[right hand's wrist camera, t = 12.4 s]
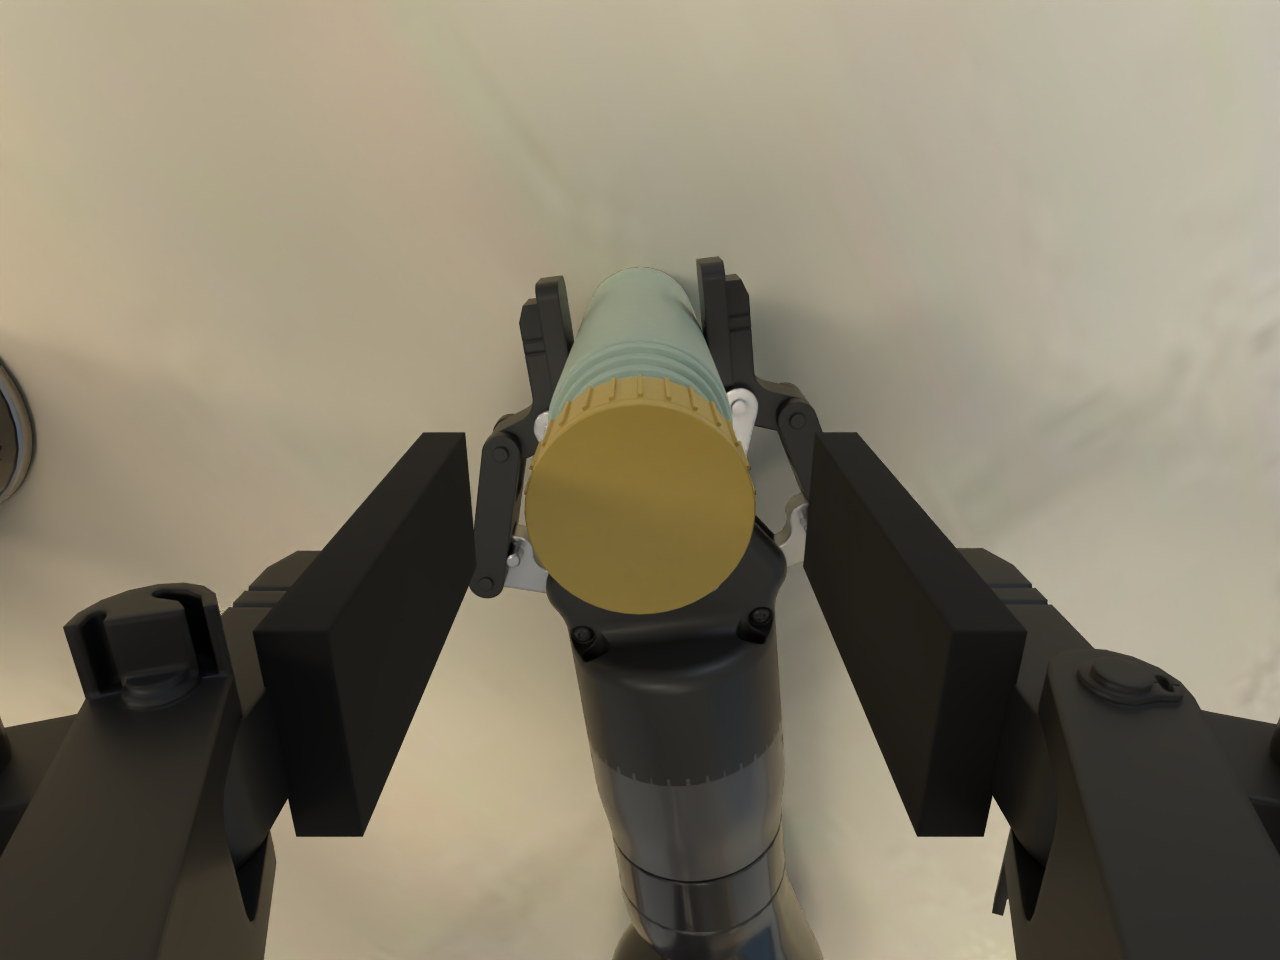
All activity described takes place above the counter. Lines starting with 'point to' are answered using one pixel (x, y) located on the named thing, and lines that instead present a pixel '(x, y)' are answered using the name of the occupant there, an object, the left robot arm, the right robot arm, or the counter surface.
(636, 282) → the bottle
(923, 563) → the right robot arm
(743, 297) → the left robot arm
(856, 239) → the counter surface
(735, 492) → the cap
